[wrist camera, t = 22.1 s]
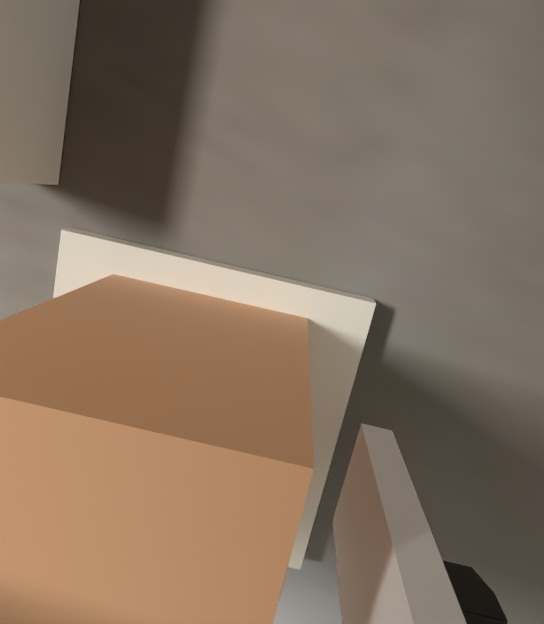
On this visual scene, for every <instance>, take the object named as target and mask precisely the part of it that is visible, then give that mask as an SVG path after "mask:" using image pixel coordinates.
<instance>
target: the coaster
mask: <svg viewBox="0 0 544 624" xmlns="http://www.w3.org/2000/svg"><path fill="white" fill-rule="evenodd" d="M112 274H116V275H120V276H125V277H129V278H133V279H138V280H142V281H147V282H151V283H155V284H160V285H164V286H169V287H173V288H177V289H182V290H186V291H191V292H195V293H199V294H204V295H208V296H213V297H217V298H221V299H226V300H230V301H235V302H239V303H243V304H248V305H252V306H257V307H261V308H265V309H270V310H274V311H278V312H283V313H287V314H292V315H296V316H300V317H305V318H307V320H308V342H309V365H310V388H311V410H312V433H313V455H314V471H313V475H312V478H311V482H310V486H309V490H308V493H307V497H306V501H305V505H304V508H303V512H302V516H301V519H300V523H299V527H298V531H297V534H296V538H295V542H294V545H293V549H292V553H291V557H290V560H289V564H288V567H291V568H295V569H299V570H300V569H301V565H302V562H303V558H304V555H305V551H306V548H307V544H308V541H309V537H310V534H311V530H312V527H313V523H314V520H315V516H316V513H317V509H318V506H319V502H320V499H321V495H322V492H323V488H324V485H325V481H326V478H327V474H328V471H329V467H330V464H331V460H332V457H333V453H334V450H335V446H336V443H337V439H338V436H339V432H340V429H341V425H342V422H343V418H344V415H345V411H346V408H347V404H348V401H349V397H350V394H351V390H352V387H353V383H354V380H355V376H356V373H357V369H358V366H359V362H360V359H361V355H362V352H363V348H364V345H365V341H366V338H367V334H368V331H369V327H370V324H371V320H372V317H373V313H374V310H375V306H376V302H375V301H374V299H373V298H368V297H364V296H360V295H356V294H351V293H347V292H343V291H339V290H334V289H330V288H326V287H321V286H317V285H313V284H309V283H304V282H300V281H296V280H292V279H287V278H283V277H279V276H275V275H270V274H266V273H262V272H257V271H253V270H249V269H245V268H240V267H236V266H232V265H228V264H223V263H219V262H215V261H211V260H206V259H202V258H198V257H193V256H189V255H185V254H181V253H176V252H172V251H168V250H164V249H159V248H155V247H151V246H146V245H142V244H138V243H134V242H129V241H125V240H121V239H117V238H112V237H108V236H104V235H100V234H95V233H91V232H87V231H82V230H78V229H74V228H70V229H63V230H61V237H60V246H59V254H58V262H57V271H56V279H55V287H54V295H53V299H54V298H56V297H59V296H61V295H63V294H66V293H68V292H71V291H73V290H76V289H78V288H80V287H83V286H85V285H88V284H90V283H93V282H95V281H97V280H100V279H102V278H105V277H107V276H110V275H112Z"/></svg>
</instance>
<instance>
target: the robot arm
mask: <svg viewBox="0 0 544 624" xmlns="http://www.w3.org/2000/svg"><path fill="white" fill-rule="evenodd" d="M333 531H334V541H335V552H336V562H337V573H338V583H339V594H340V605H341V615H342V624H507V619H506V617H505V614H504V612H503V610H502V608H501V606H500V604H499V602H498V600H497V598H496V596H495V594H494V592H493V591H492V590H491V589H490V588H489V587H488V586H487V584H486V583H485V582H484V581H483V580H482V579H481V578H480V576H479V575H478V574H477V573H476V572H475V571H474V570H473V568H472V567H468V566H463V565H459V564H455V563H451V562H446V561H442V558H441V556H440V553H439V551H438V548H437V545H436V543H435V540H434V538H433V535H432V532H431V530H430V527H429V525H428V522H427V519H426V517H425V514H424V512H423V509H422V506H421V504H420V501H419V499H418V496H417V493H416V491H415V488H414V486H413V483H412V481H411V478H410V475H409V473H408V470H407V468H406V465H405V462H404V460H403V457H402V455H401V452H400V449H399V447H398V444H397V442H396V439H395V436H394V434H393V431H392V430H388V429H383V428H379V427H375V426H371V425H366V424H362V423H361V426H360V429H359V432H358V436H357V439H356V443H355V446H354V449H353V453H352V456H351V459H350V463H349V466H348V470H347V473H346V476H345V480H344V483H343V487H342V490H341V493H340V497H339V500H338V503H337V507H336V510H335V514H334V517H333Z"/></svg>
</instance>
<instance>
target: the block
mask: <svg viewBox="0 0 544 624" xmlns="http://www.w3.org/2000/svg"><path fill="white" fill-rule="evenodd" d="M313 471H314V455H313V433H312V410H311V388H310V365H309V342H308V320H307V318H305V317H300V316H296V315H292V314H287V313H283V312H278V311H274V310H270V309H265V308H261V307H257V306H252V305H248V304H243V303H239V302H235V301H230V300H226V299H221V298H217V297H213V296H208V295H204V294H199V293H195V292H191V291H186V290H182V289H177V288H173V287H169V286H164V285H160V284H155V283H151V282H147V281H142V280H138V279H133V278H129V277H125V276H120V275H116V274H112V275H110V276H107V277H105V278H102V279H100V280H97V281H95V282H93V283H90V284H88V285H85V286H83V287H80V288H78V289H76V290H73V291H71V292H68V293H66V294H63V295H61V296H59V297H56V298H54V299H51V300H49V301H46V302H44V303H42V304H39V305H37V306H34V307H32V308H29V309H27V310H24V311H22V312H20V313H17V314H15V315H12V316H10V317H7V318H5V319H3V320H0V624H273V620H274V616H275V613H276V609H277V605H278V601H279V598H280V594H281V590H282V586H283V583H284V579H285V575H286V572H287V568H288V564H289V560H290V557H291V553H292V549H293V545H294V542H295V538H296V534H297V531H298V527H299V523H300V519H301V516H302V512H303V508H304V505H305V501H306V497H307V493H308V490H309V486H310V482H311V478H312V475H313Z"/></svg>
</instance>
